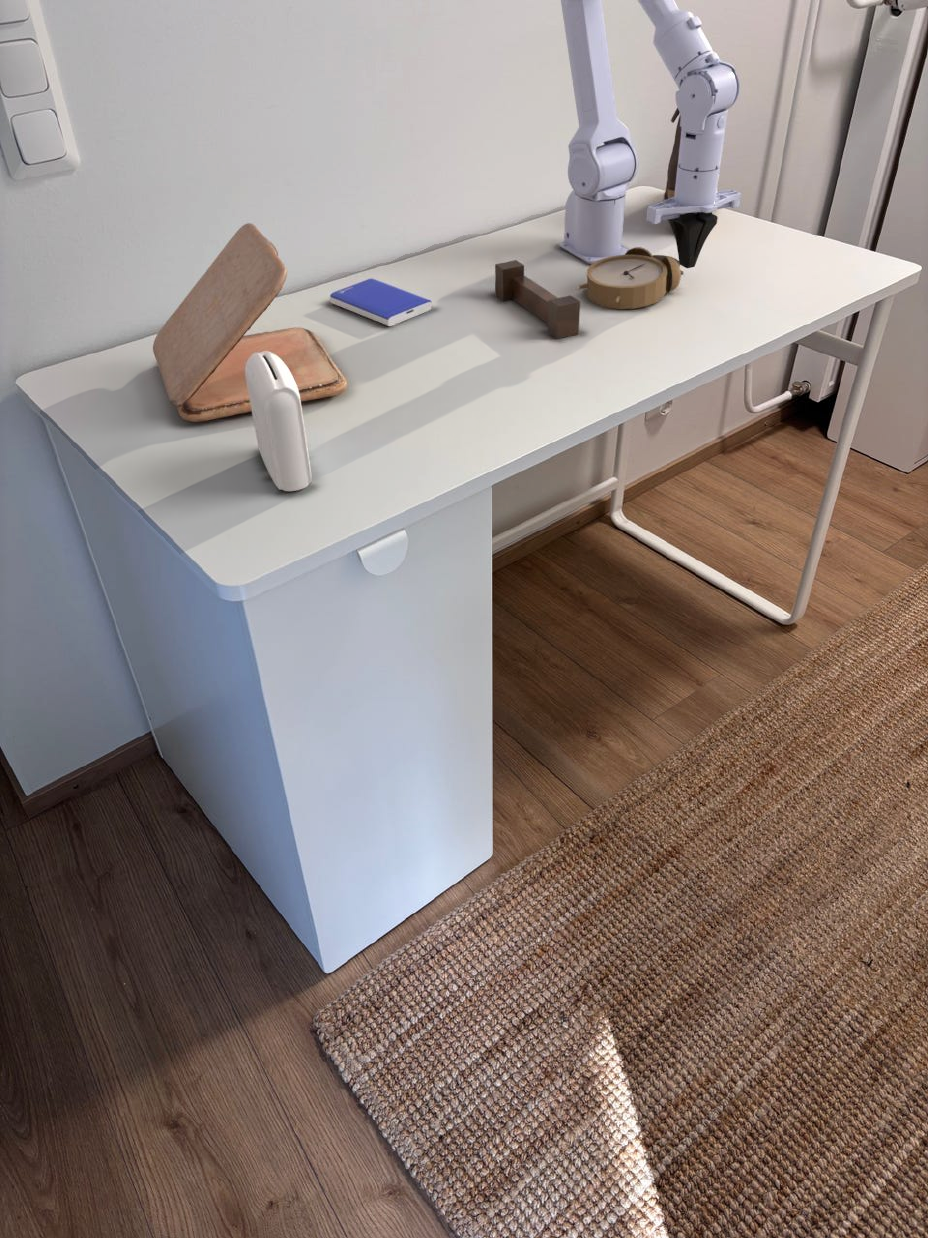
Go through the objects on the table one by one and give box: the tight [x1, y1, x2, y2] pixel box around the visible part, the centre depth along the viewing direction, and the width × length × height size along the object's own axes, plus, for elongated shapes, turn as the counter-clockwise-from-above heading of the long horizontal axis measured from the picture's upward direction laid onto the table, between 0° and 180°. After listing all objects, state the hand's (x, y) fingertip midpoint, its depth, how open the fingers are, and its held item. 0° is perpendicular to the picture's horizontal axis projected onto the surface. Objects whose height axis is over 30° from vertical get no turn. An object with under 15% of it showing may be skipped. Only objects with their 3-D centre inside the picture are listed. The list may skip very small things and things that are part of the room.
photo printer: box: [245, 351, 313, 492], centre depth 101 cm, size 10×4×12 cm, turn 22°
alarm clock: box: [578, 246, 684, 310], centre depth 139 cm, size 11×5×15 cm
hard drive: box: [329, 277, 432, 327], centre depth 138 cm, size 2×8×12 cm
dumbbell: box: [494, 259, 581, 340], centre depth 134 cm, size 17×4×4 cm, turn 26°
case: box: [152, 222, 348, 423], centre depth 117 cm, size 20×21×16 cm
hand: (686, 265), depth 142 cm, fingers closed
